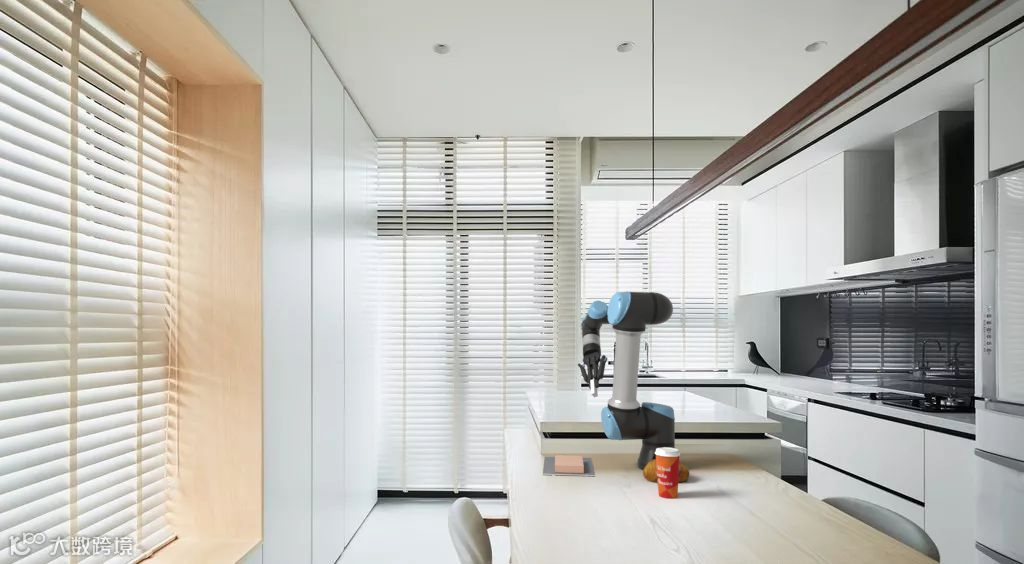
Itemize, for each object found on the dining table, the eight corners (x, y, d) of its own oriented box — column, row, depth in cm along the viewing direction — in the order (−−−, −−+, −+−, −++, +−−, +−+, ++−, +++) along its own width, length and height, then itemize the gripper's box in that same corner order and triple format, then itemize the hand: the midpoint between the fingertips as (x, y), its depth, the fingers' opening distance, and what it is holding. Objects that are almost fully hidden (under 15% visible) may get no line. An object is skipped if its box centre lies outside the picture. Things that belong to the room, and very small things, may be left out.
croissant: (692, 491, 194) (695, 467, 194) (644, 484, 195) (648, 459, 195) (681, 478, 209) (684, 456, 209) (637, 471, 209) (640, 449, 209)
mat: (544, 458, 231) (544, 456, 231) (591, 459, 229) (591, 457, 229) (542, 475, 205) (542, 473, 205) (595, 476, 203) (594, 474, 203)
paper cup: (649, 494, 183) (649, 448, 184) (669, 491, 186) (669, 446, 187) (666, 500, 176) (665, 453, 177) (686, 497, 179) (686, 450, 180)
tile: (555, 455, 222) (554, 465, 206) (582, 455, 221) (583, 466, 205) (555, 462, 222) (554, 472, 206) (582, 462, 221) (583, 473, 205)
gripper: (609, 347, 248) (613, 395, 232) (582, 356, 254) (584, 404, 238) (601, 337, 244) (604, 385, 228) (573, 347, 250) (575, 395, 233)
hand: (594, 395), depth 233 cm, fingers closed
